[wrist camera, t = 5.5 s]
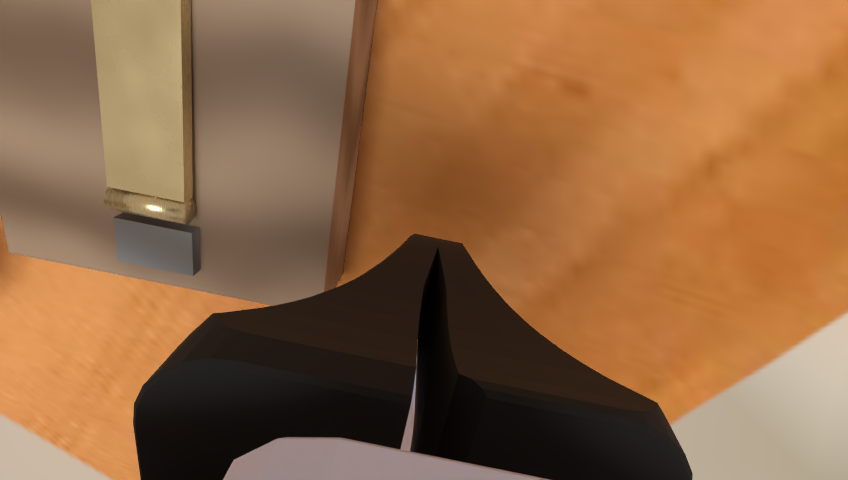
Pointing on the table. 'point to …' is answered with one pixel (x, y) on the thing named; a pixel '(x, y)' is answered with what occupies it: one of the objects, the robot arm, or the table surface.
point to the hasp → (146, 105)
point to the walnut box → (194, 146)
